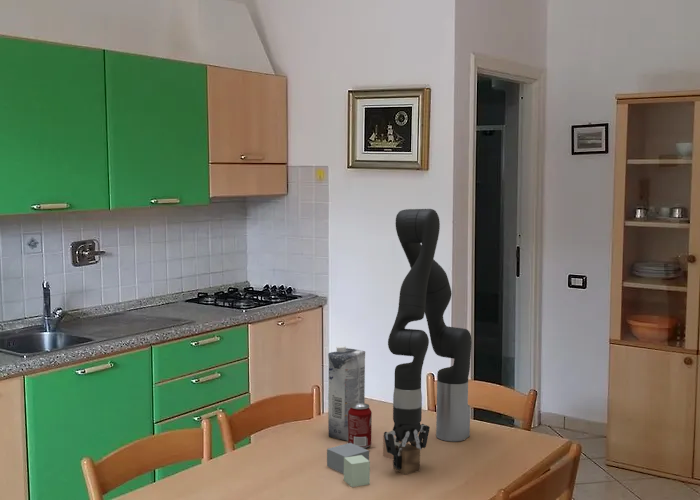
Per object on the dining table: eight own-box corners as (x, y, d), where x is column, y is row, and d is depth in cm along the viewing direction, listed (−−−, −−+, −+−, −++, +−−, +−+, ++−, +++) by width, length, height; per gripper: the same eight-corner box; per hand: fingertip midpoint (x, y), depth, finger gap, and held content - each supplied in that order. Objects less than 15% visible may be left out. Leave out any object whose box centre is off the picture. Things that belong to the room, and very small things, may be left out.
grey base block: (350, 460, 216) (350, 442, 215) (369, 468, 210) (369, 450, 209) (326, 467, 211) (327, 448, 210) (345, 475, 205) (345, 457, 204)
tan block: (394, 451, 223) (394, 431, 222) (408, 456, 219) (408, 435, 219) (383, 456, 219) (383, 435, 218) (397, 460, 216) (397, 439, 215)
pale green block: (361, 477, 203) (361, 455, 203) (369, 484, 199) (369, 461, 198) (343, 480, 201) (343, 457, 201) (351, 487, 196) (351, 464, 196)
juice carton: (367, 433, 238) (368, 345, 236) (349, 443, 229) (350, 352, 227) (343, 428, 243) (344, 342, 241) (324, 437, 234) (324, 348, 232)
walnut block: (408, 465, 212) (408, 443, 212) (419, 470, 208) (420, 448, 207) (393, 468, 209) (393, 446, 209) (404, 474, 205) (405, 452, 205)
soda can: (368, 451, 223) (369, 409, 222) (345, 449, 224) (346, 408, 223) (373, 443, 229) (373, 403, 228) (350, 441, 231) (350, 401, 230)
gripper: (419, 396, 214) (418, 457, 216) (377, 404, 206) (376, 467, 208) (437, 403, 208) (436, 465, 209) (394, 411, 200) (393, 476, 201)
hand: (406, 466), depth 208 cm, fingers closed on walnut block, 5 cm apart
